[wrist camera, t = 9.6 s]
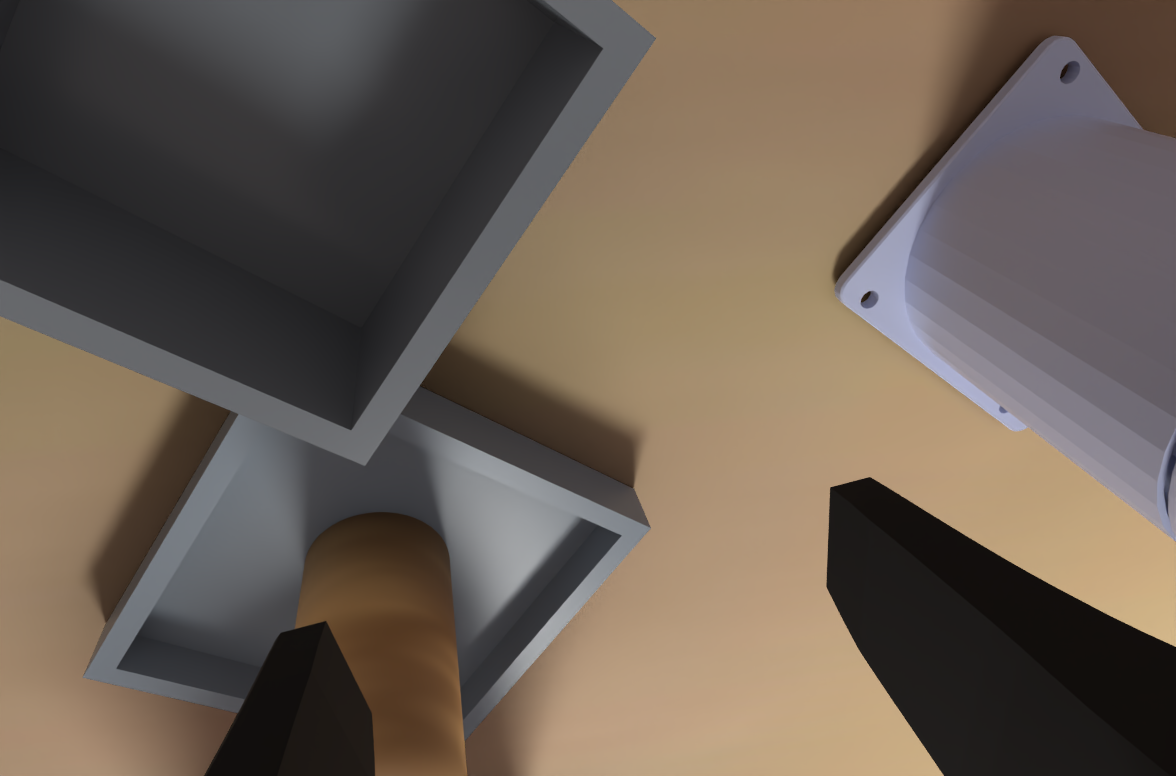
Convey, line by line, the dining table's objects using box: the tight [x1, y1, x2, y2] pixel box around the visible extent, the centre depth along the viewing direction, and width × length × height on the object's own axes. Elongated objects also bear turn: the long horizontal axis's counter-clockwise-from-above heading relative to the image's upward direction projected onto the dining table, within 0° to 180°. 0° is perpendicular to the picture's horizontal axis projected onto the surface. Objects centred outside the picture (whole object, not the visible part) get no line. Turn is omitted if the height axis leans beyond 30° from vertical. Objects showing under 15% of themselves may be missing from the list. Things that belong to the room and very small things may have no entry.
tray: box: [83, 386, 651, 741], centre depth 21 cm, size 11×11×2 cm
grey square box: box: [0, 0, 656, 466], centre depth 13 cm, size 9×9×5 cm
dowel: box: [295, 512, 467, 776], centre depth 18 cm, size 4×4×7 cm
